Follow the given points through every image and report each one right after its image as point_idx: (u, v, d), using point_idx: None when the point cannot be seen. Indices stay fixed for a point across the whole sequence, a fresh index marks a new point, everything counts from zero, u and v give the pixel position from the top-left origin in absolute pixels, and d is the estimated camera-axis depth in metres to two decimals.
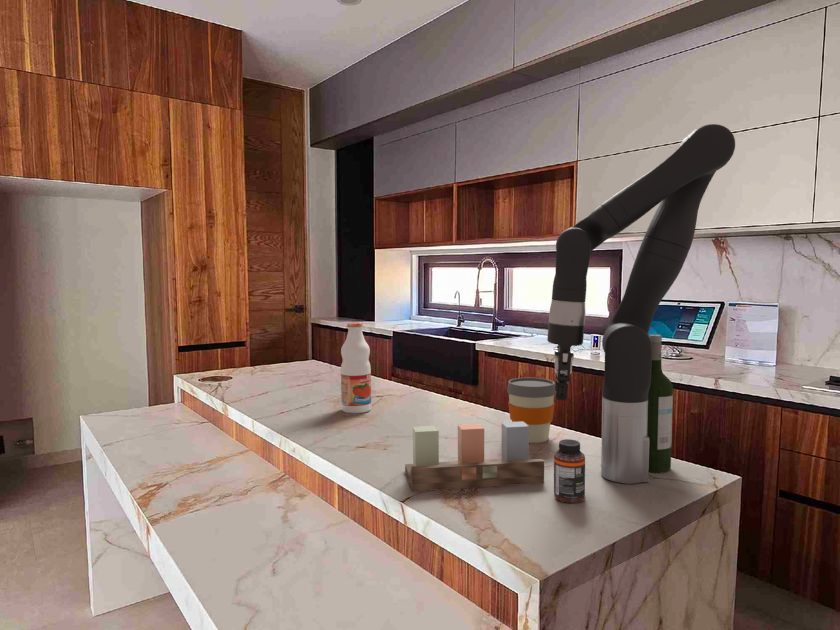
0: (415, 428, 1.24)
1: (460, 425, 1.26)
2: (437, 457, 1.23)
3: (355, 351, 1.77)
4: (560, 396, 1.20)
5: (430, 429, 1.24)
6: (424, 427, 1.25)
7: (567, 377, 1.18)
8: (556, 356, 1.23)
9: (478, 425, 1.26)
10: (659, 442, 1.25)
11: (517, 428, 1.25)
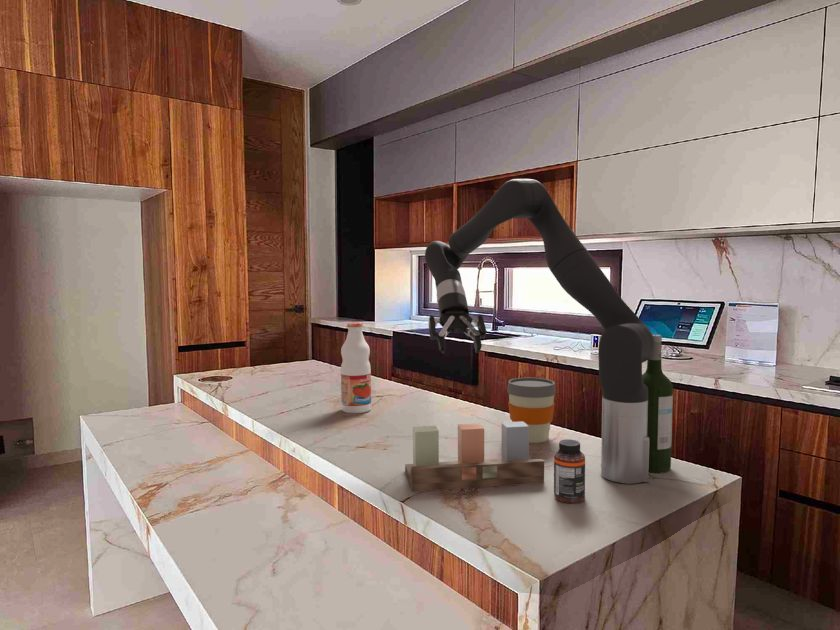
0: (415, 428, 1.24)
1: (460, 425, 1.26)
2: (437, 457, 1.23)
3: (355, 351, 1.77)
4: (440, 349, 1.40)
5: (430, 429, 1.24)
6: (424, 427, 1.25)
7: None
8: None
9: (478, 425, 1.26)
10: (659, 442, 1.25)
11: (517, 428, 1.25)
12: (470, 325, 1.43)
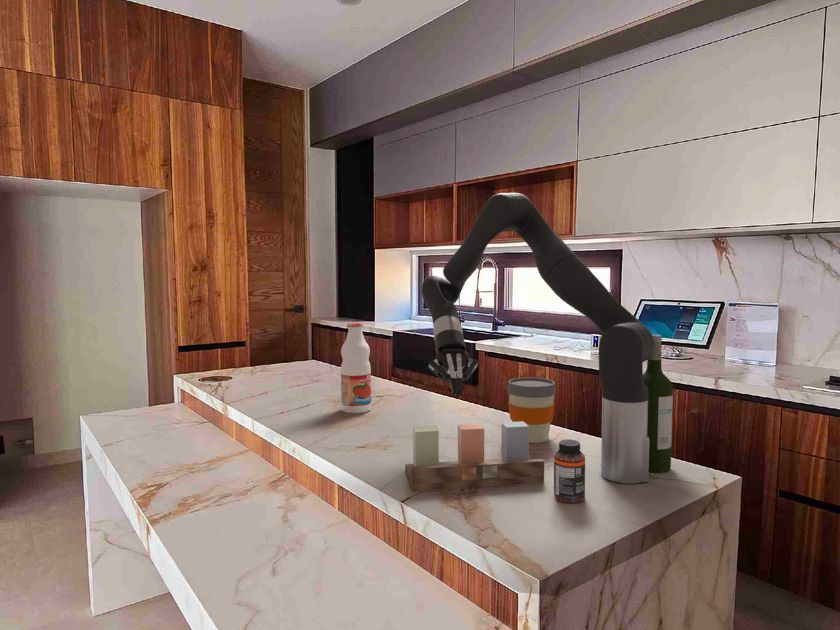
0: (415, 428, 1.24)
1: (460, 425, 1.26)
2: (437, 457, 1.23)
3: (355, 351, 1.77)
4: (452, 391, 1.38)
5: (430, 429, 1.24)
6: (424, 427, 1.25)
7: (442, 375, 1.40)
8: None
9: (478, 425, 1.26)
10: (659, 442, 1.25)
11: (517, 428, 1.25)
12: (459, 365, 1.41)
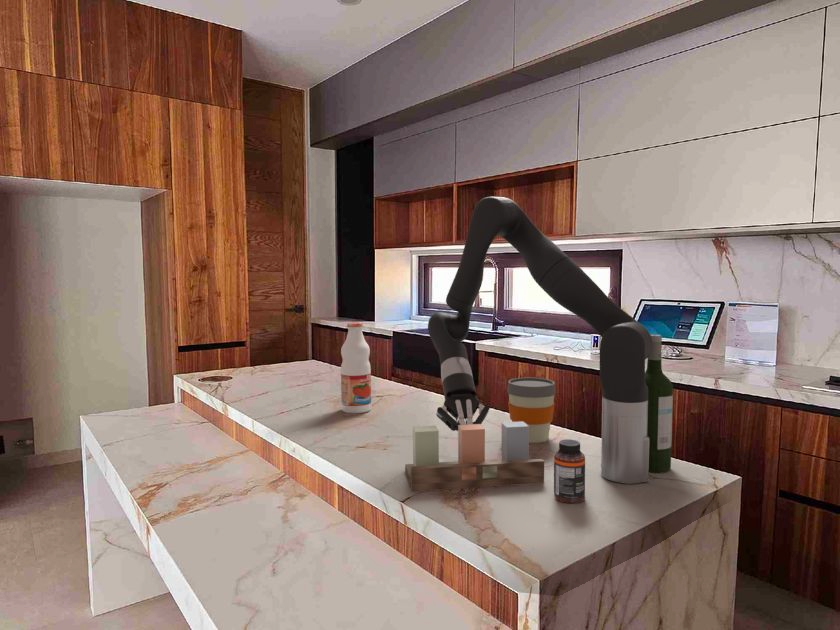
0: (415, 428, 1.24)
1: (460, 426, 1.26)
2: (437, 457, 1.23)
3: (355, 351, 1.77)
4: None
5: (430, 429, 1.24)
6: (424, 427, 1.25)
7: (451, 424, 1.30)
8: None
9: (479, 426, 1.26)
10: (659, 442, 1.25)
11: (517, 428, 1.25)
12: (469, 413, 1.31)
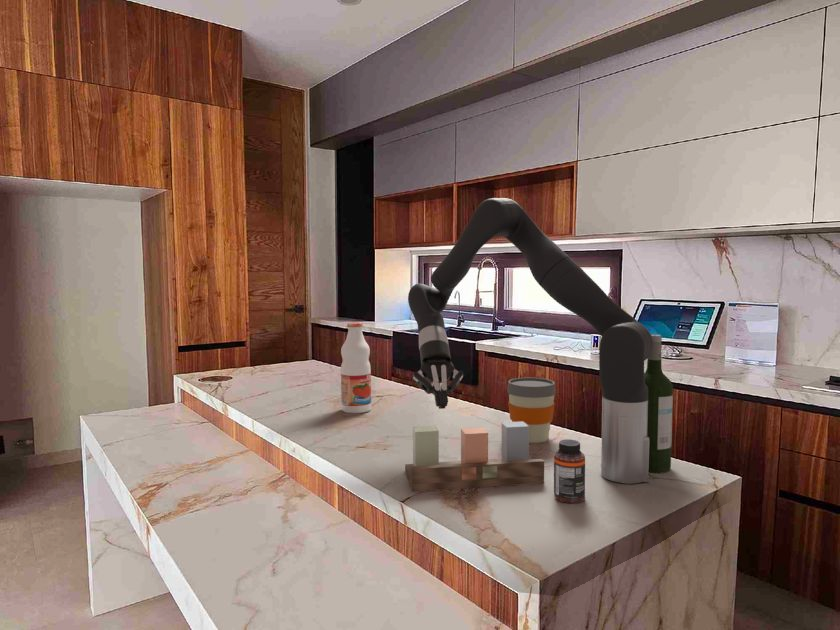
0: (415, 428, 1.24)
1: (463, 429, 1.23)
2: (437, 457, 1.23)
3: (355, 351, 1.77)
4: (436, 404, 1.36)
5: (430, 429, 1.24)
6: (424, 427, 1.25)
7: (426, 387, 1.37)
8: None
9: (482, 429, 1.23)
10: (659, 442, 1.25)
11: (517, 428, 1.25)
12: (444, 377, 1.39)
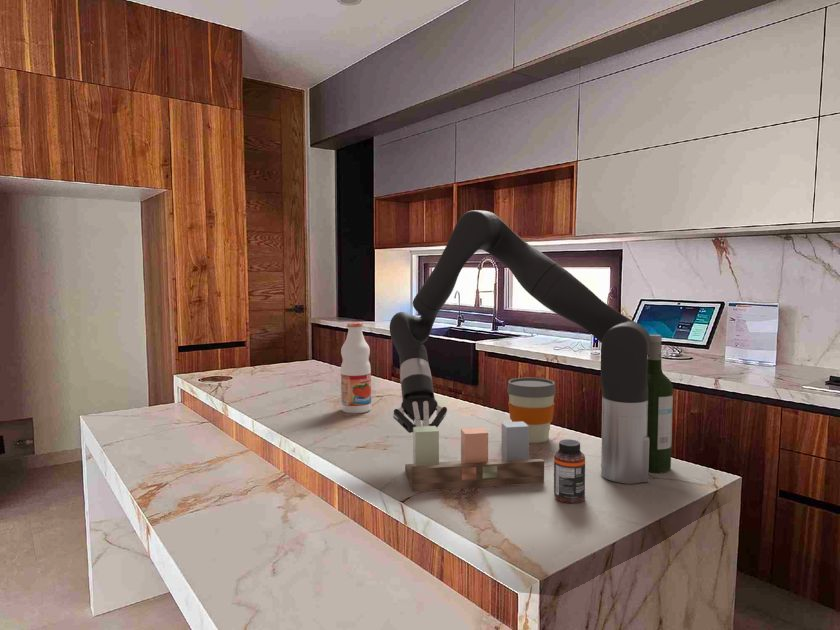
0: (415, 428, 1.24)
1: (463, 429, 1.23)
2: (437, 457, 1.23)
3: (355, 351, 1.77)
4: None
5: (431, 429, 1.23)
6: (424, 427, 1.25)
7: (407, 426, 1.29)
8: None
9: (482, 429, 1.23)
10: (659, 442, 1.25)
11: (517, 428, 1.25)
12: (426, 415, 1.30)
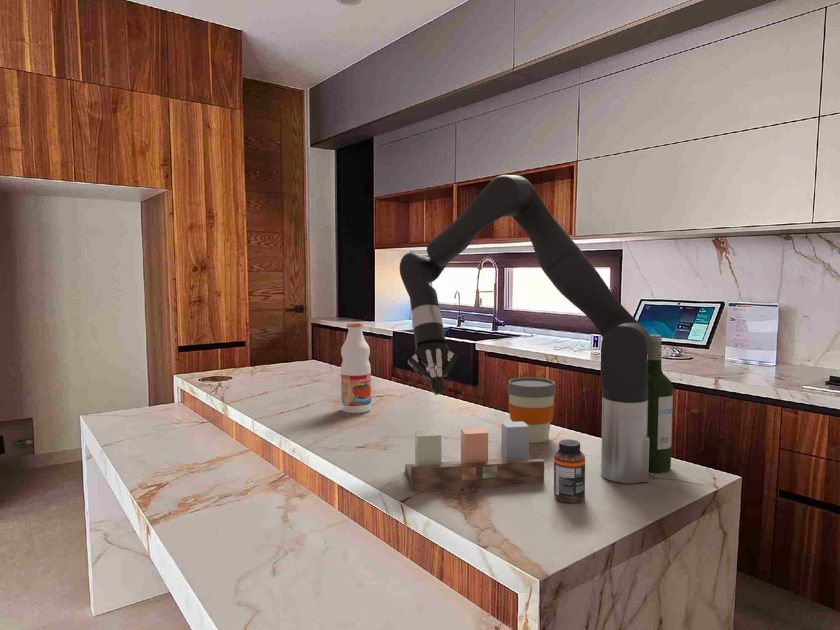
0: (417, 432, 1.21)
1: (463, 429, 1.23)
2: (440, 462, 1.20)
3: (355, 351, 1.77)
4: (432, 390, 1.38)
5: (433, 433, 1.20)
6: (427, 431, 1.22)
7: (422, 374, 1.38)
8: None
9: (482, 429, 1.23)
10: (659, 442, 1.25)
11: (517, 428, 1.25)
12: (439, 363, 1.38)
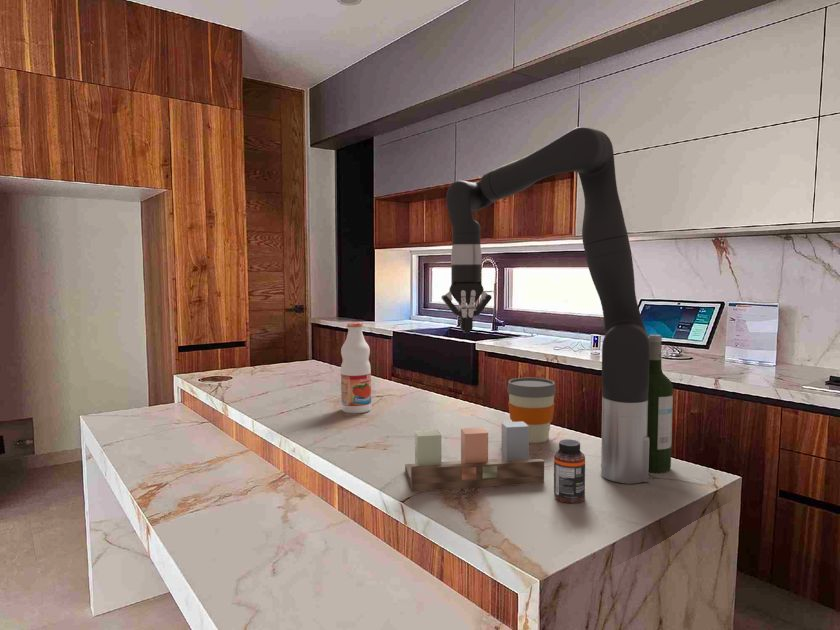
0: (417, 432, 1.21)
1: (463, 429, 1.23)
2: (440, 462, 1.20)
3: (355, 351, 1.77)
4: (461, 328, 1.45)
5: (433, 433, 1.20)
6: (427, 431, 1.22)
7: None
8: None
9: (482, 429, 1.23)
10: (659, 442, 1.25)
11: (517, 428, 1.25)
12: (472, 304, 1.42)
